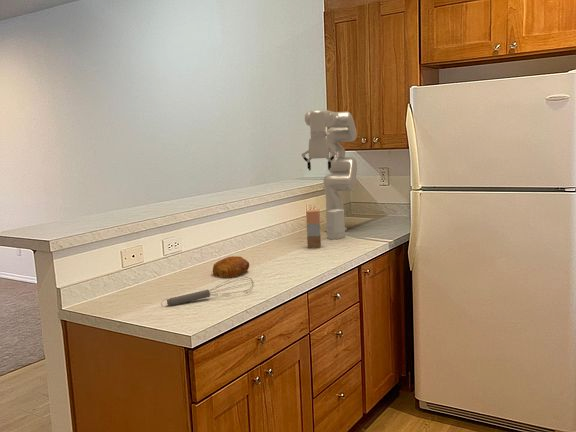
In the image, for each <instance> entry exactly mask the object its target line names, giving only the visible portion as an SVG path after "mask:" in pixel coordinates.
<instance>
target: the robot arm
mask: <svg viewBox="0 0 576 432" xmlns="http://www.w3.org/2000/svg"><path fill="white" fill-rule="evenodd" d="M304 122H305V124H306V125H307V126H309V129H310V138H309V140H308V150H307V151H305V152H303V153H301V156H302V158H303V160H304V161H305V162H306V163H307V165H306V166H307V169H308V171H311V170H312V165H311V160H312V159H316V160H317V159H326V160H327V170H328V172H329V174H327V175H324V178H323V188H324V193H325V210H326V211H330V210H334V209H341V210H344V199H343V196H342V195H341V194H340V192H352V191H354V189H355V187H356V181H357V175H358V174H357V172H358V162H357V159H356V158H355V157H353V156H346V150H345V148H344V147H343V146H342V144H340V143H346V142H347V143H349V142H354V141H355V140H357V136H358V133H357V128H356V125H355V121H354V118H353V114H351V113H350V112H349V111H331V110H328V109H321V110H320V109H319V110H308V111H306V113H305V115H304ZM326 128H328V129H326ZM307 154H308V158H307V157H306V155H307ZM326 211H325V212H326ZM347 230H348V229H347V227H346V226H345V232H346V231H347ZM323 231H324V232H326V233H327V227H325V228H324V229H323Z"/></svg>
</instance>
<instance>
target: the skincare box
mask: <svg viewBox="0 0 576 432" xmlns="http://www.w3.org/2000/svg"><path fill="white" fill-rule="evenodd" d="M325 217H326V219H325V221H326V228H327V232H326V238H327V239H329V240H332V239H333V240H334V241H335V240H339V239H343V238H346V231H345V227H346V222H345V209H343V210H341V209H334V210H330V211H325ZM333 240H332V241H333Z"/></svg>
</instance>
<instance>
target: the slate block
mask: <svg viewBox="0 0 576 432" xmlns="http://www.w3.org/2000/svg"><path fill="white" fill-rule="evenodd" d="M306 236H320V237H321V222H320V223H319V224H307V223H306Z"/></svg>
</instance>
